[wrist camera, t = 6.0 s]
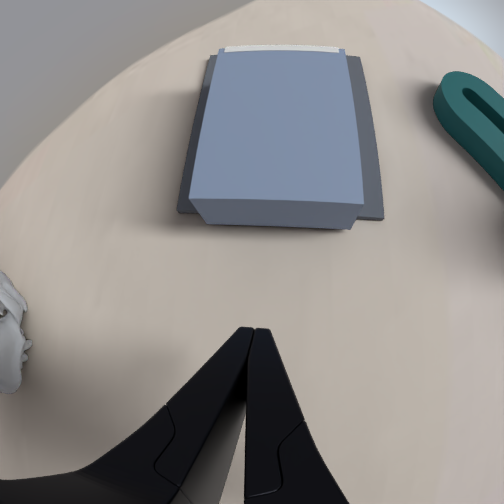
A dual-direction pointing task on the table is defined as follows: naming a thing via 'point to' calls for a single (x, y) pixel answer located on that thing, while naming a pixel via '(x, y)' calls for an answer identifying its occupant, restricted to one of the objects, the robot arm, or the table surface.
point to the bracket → (473, 119)
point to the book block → (279, 140)
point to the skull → (11, 336)
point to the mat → (365, 135)
